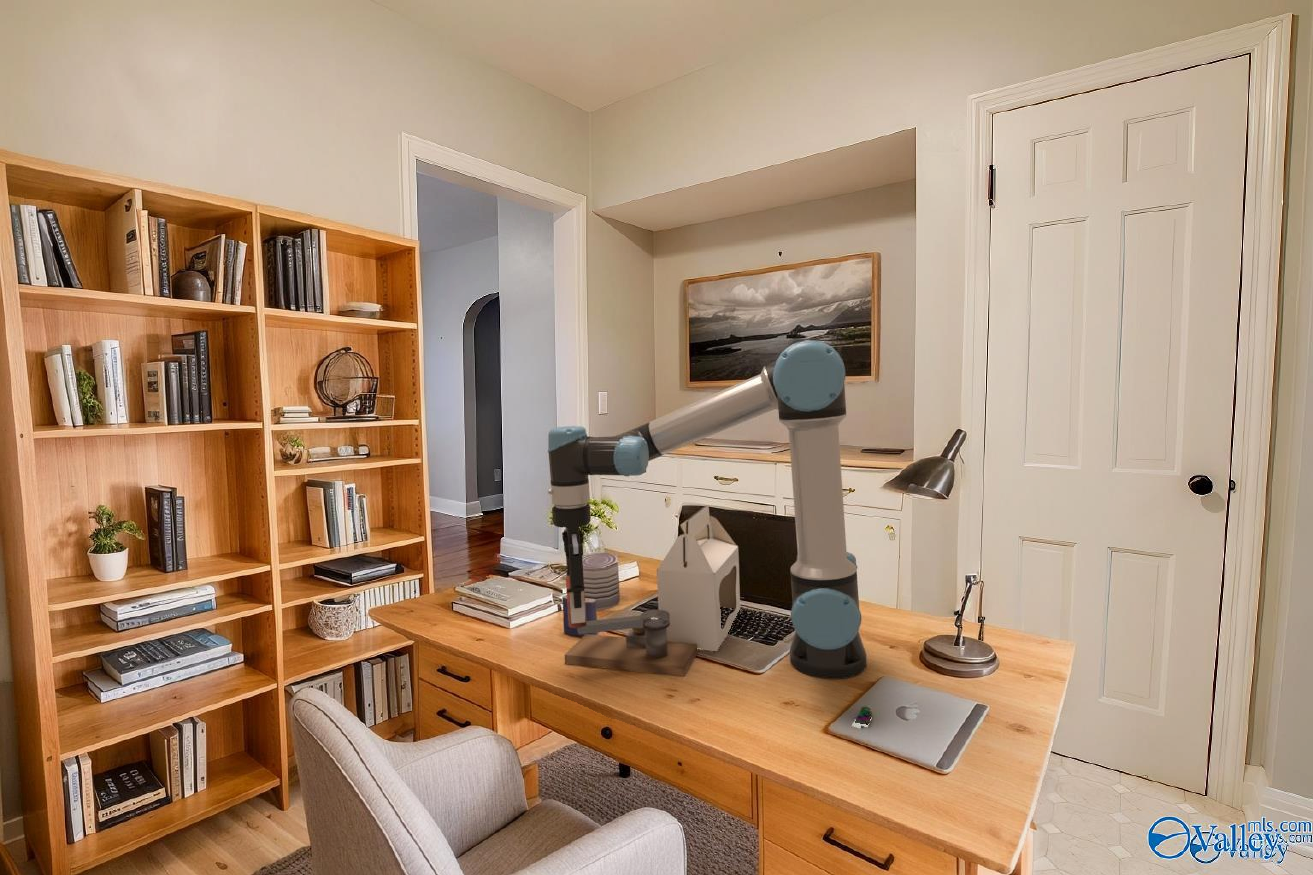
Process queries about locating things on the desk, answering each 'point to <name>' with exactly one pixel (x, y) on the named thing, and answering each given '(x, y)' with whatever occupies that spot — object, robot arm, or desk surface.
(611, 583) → the can
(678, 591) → the gable box
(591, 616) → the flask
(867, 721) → the green rounded lump
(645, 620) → the lever
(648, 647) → the wooden base plate
